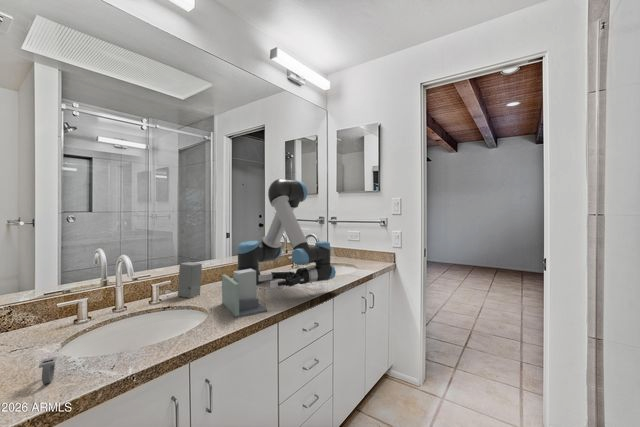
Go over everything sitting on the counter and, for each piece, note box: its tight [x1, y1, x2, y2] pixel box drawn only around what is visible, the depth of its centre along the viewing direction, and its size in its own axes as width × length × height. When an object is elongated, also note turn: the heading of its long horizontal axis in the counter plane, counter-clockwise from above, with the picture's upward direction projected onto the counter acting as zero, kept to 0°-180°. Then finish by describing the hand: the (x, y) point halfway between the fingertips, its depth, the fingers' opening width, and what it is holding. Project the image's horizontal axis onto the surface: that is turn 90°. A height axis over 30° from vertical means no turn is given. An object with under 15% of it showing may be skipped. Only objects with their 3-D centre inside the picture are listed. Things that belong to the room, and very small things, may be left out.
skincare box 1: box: [177, 261, 203, 299], centre depth 136 cm, size 8×7×16 cm
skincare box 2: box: [232, 269, 258, 301], centre depth 119 cm, size 8×6×15 cm
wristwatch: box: [38, 356, 58, 385], centre depth 67 cm, size 6×3×5 cm, turn 35°
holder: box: [221, 274, 268, 319], centre depth 119 cm, size 20×13×13 cm, turn 33°
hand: (264, 281), depth 124 cm, fingers open, 13 cm apart
